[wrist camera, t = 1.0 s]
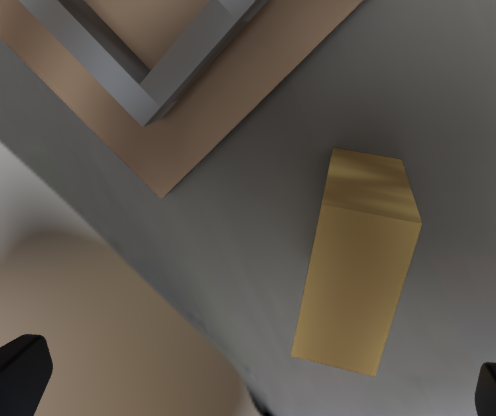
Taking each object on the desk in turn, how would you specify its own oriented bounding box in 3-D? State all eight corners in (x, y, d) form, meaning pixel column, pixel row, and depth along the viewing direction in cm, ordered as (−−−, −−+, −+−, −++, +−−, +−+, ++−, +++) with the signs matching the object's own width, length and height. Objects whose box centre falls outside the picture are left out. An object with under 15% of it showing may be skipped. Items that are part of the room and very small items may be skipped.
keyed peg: (401, 159, 20) (422, 223, 13) (369, 275, 22) (375, 377, 16) (333, 147, 20) (321, 204, 14) (309, 262, 22) (290, 355, 16)
